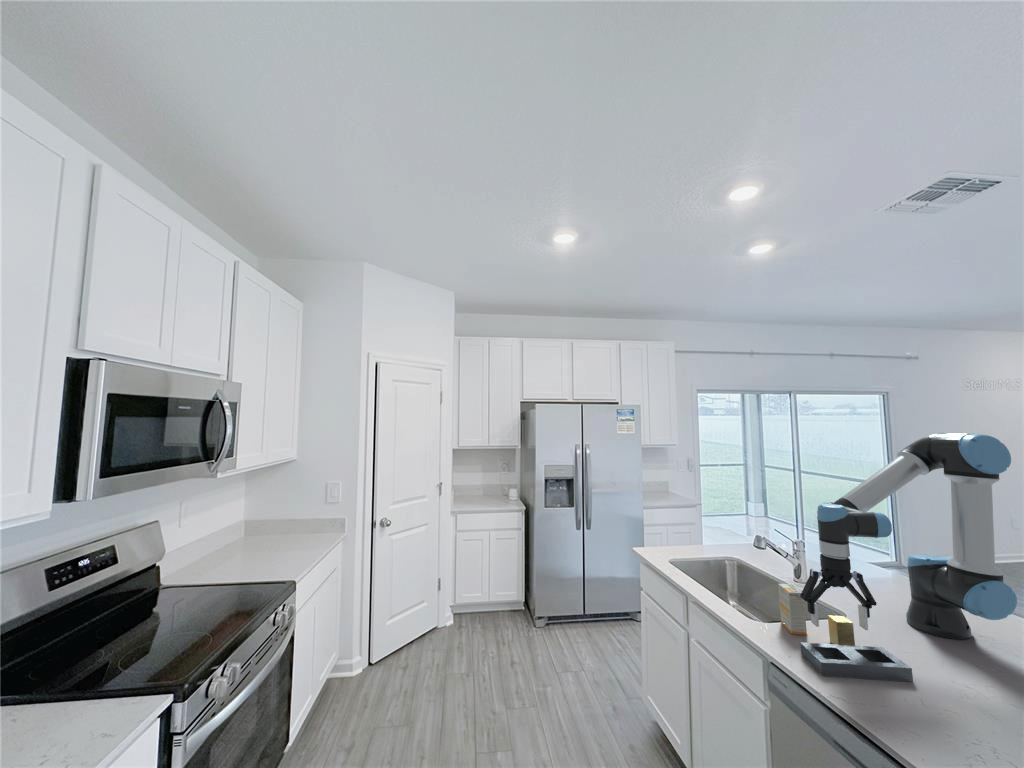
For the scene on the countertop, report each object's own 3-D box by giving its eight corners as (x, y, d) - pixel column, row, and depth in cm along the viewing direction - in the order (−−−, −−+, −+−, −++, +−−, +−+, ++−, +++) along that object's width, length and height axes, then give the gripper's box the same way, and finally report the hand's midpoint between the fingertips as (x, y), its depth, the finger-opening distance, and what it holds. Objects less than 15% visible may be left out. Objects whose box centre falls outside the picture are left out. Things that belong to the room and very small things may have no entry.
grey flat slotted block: (884, 660, 120) (882, 647, 120) (913, 682, 110) (911, 668, 110) (801, 654, 123) (800, 642, 124) (822, 675, 113) (820, 662, 113)
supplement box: (807, 635, 134) (804, 593, 136) (791, 634, 135) (788, 592, 137) (796, 623, 142) (793, 583, 144) (780, 622, 143) (777, 582, 145)
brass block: (845, 642, 130) (843, 616, 130) (855, 650, 125) (852, 622, 126) (830, 642, 130) (827, 615, 131) (839, 649, 126) (836, 622, 127)
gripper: (870, 553, 132) (875, 623, 130) (785, 549, 136) (789, 617, 134) (888, 561, 125) (893, 635, 123) (797, 557, 128) (801, 629, 126)
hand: (839, 626), depth 128 cm, fingers open, 13 cm apart
